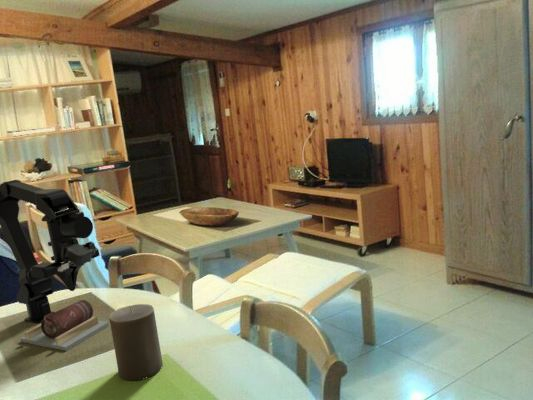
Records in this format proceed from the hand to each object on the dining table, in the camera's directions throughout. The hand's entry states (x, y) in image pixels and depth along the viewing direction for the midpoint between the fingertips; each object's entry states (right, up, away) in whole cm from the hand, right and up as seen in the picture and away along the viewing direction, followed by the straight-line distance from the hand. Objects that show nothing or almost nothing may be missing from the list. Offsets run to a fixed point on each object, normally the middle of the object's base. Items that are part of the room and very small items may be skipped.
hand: (72, 290), depth 138 cm
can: (+2, -6, +6) cm, 9 cm away
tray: (-1, -11, -2) cm, 12 cm away
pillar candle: (+26, -13, -26) cm, 39 cm away
